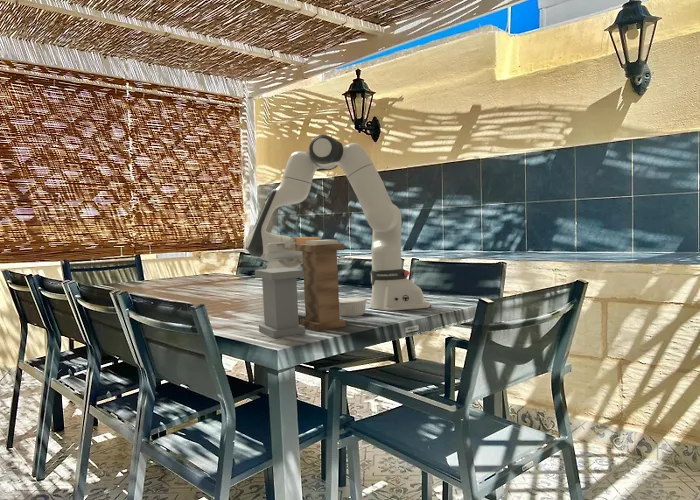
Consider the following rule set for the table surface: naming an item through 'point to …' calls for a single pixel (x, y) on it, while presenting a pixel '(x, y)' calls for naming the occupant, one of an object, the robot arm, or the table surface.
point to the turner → (314, 241)
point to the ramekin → (352, 306)
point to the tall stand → (321, 286)
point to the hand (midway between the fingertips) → (300, 239)
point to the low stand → (280, 302)
